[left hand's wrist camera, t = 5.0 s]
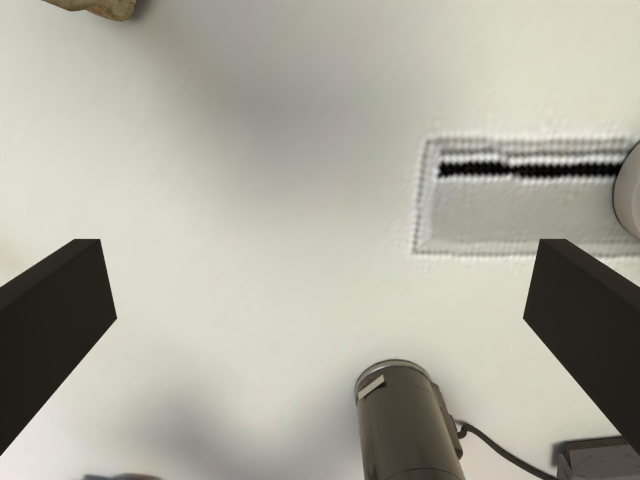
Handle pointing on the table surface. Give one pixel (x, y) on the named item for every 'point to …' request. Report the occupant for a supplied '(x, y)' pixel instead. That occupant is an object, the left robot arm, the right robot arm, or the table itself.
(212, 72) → the table surface
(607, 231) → the table surface
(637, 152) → the bust sculpture
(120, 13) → the sculpture
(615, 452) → the toy
